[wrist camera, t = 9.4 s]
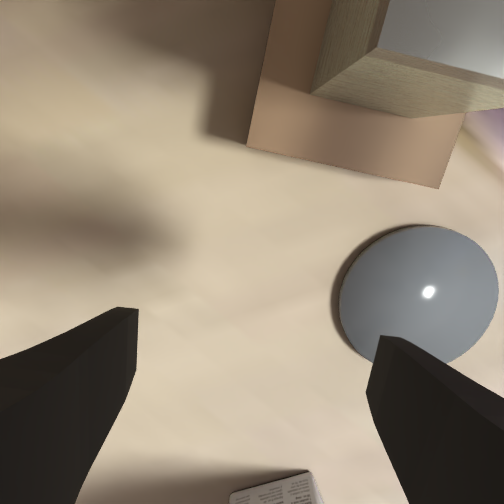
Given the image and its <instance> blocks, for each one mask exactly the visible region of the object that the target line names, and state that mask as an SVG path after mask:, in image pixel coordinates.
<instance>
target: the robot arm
mask: <svg viewBox="0 0 504 504" xmlns="http://www.w3.org/2000/svg"><path fill="white" fill-rule="evenodd" d="M138 313H139V309H133V308H124V307H116V308H113V309H111V310H109V311H107V312H105V313H103V314H101V315H99V316H97V317H95V318H93V319H91V320H89V321H87V322H85V323H83V324H81V325H79V326H77V327H75V328H73V329H71V330H69V331H67V332H65V333H63V334H60V335H58V336H56V337H54V338H52V339H49V340H47V341H45V342H43V343H40V344H38V345H36V346H34V347H31V348H29V349H26V350H24V351H21V352H19V353H16V354H14V355H11V356H8V357H5V358H2V359H0V504H75V502H76V499H77V497H78V494H79V492H80V489H81V487H82V485H83V483H84V481H85V478H86V476H87V474H88V472H89V470H90V468H91V466H92V464H93V462H94V460H95V458H96V456H97V455H98V453H99V451H100V449H101V447H102V445H103V443H104V441H105V439H106V437H107V435H108V433H109V431H110V429H111V428H112V426H113V424H114V422H115V420H116V418H117V416H118V414H119V412H120V410H121V408H122V406H123V404H124V402H125V400H126V397H127V395H128V392H129V389H130V386H131V384H132V381H133V378H134V375H135V372H136V364H137V338H138ZM366 396H367V399H368V403H369V407H370V411H371V414H372V417H373V421H374V424H375V426H376V429H377V431H378V434H379V436H380V438H381V441H382V443H383V445H384V448H385V450H386V452H387V454H388V457H389V459H390V461H391V463H392V466H393V468H394V470H395V472H396V475H397V477H398V479H399V481H400V484H401V486H402V488H403V491H404V493H405V495H406V497H407V500H408V502H409V504H504V398H503V397H501V396H499V395H497V394H496V393H494V392H492V391H490V390H489V389H487V388H485V387H483V386H482V385H480V384H478V383H476V382H475V381H473V380H471V379H470V378H468V377H466V376H465V375H463V374H461V373H460V372H458V371H457V370H455V369H453V368H452V367H450V366H449V365H447V364H445V363H444V362H442V361H441V360H439V359H437V358H436V357H434V356H433V355H431V354H430V353H428V352H426V351H425V350H423V349H421V348H420V347H418V346H416V345H415V344H413V343H411V342H409V341H407V340H405V339H403V338H401V337H395V336H385V335H380V338H379V342H378V346H377V350H376V354H375V358H374V362H373V366H372V370H371V374H370V378H369V381H368V385H367V389H366Z"/></svg>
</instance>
